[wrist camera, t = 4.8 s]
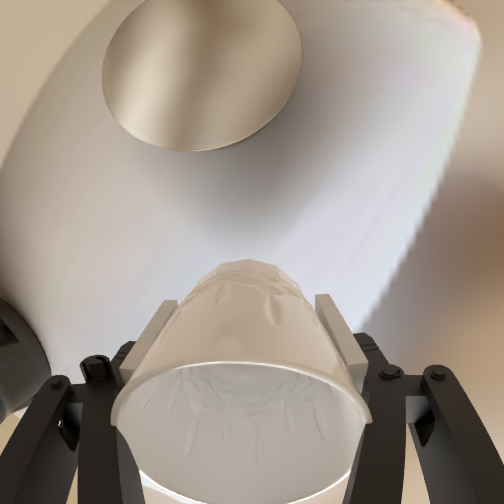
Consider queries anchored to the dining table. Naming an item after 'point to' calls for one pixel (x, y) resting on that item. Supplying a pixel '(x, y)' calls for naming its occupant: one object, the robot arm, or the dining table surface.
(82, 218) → the dining table surface
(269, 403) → the white cup
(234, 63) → the cake stand
